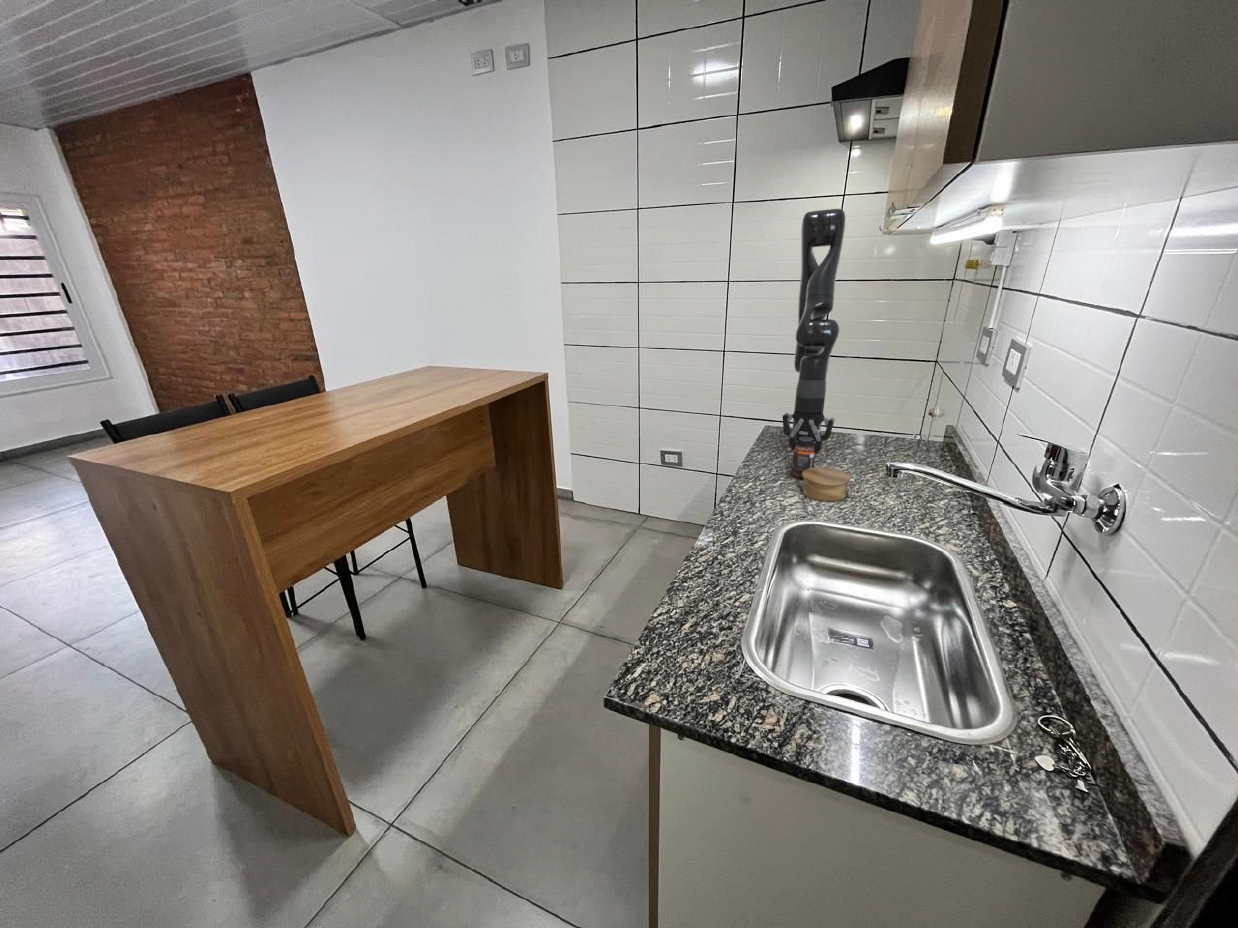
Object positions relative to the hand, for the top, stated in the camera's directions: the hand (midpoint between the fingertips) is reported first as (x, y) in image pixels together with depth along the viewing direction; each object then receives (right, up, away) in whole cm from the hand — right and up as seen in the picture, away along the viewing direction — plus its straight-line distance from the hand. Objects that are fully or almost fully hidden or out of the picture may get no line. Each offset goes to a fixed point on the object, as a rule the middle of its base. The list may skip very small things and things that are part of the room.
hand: (804, 450), depth 140 cm
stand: (+2, -12, -8) cm, 15 cm away
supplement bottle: (0, -7, +3) cm, 8 cm away
